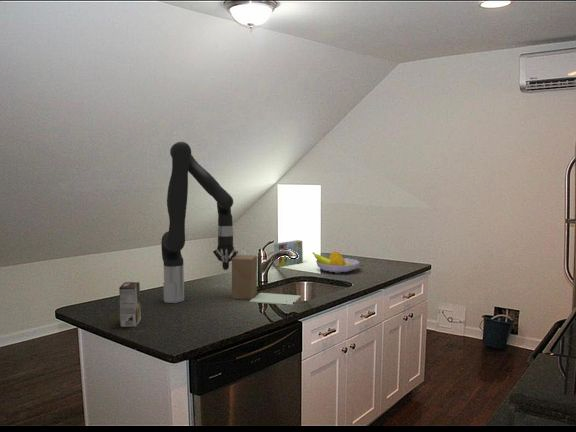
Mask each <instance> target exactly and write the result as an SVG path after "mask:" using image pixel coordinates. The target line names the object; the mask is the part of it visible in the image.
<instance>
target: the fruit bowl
mask: <svg viewBox="0 0 576 432" xmlns="http://www.w3.org/2000/svg"><path fill="white" fill-rule="evenodd" d="M312 255H313V256H314V257H315V259H316V260H315V262H316V265H317V267H318V268H319V269H321V270H323V271H325V272H327V271H329V273H332V272H335V273H334V274H342V273H341V272H345V273H349V271H350V272H351V271H354V270H356V268H357V267H358V266H359V264H360V261H359V260H357V259H352V258H347V257H346V258H344V257H343V255H342V254H341V253H340V252H339V251H333V252H331V254H330V255H329V256H328V257H325V256H322V255H321V254H316V253H315V252H314V251H313V252H312Z"/></svg>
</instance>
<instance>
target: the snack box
mask: <svg viewBox="0 0 576 432" xmlns="http://www.w3.org/2000/svg"><path fill="white" fill-rule="evenodd" d="M283 249H291V250H293V251H295V252H297V253H298V255H299V258H298V259H289V258H288V257H286V256H284V257H280V258H279V259H277V260H276V261H275V263H273V266H274V267H277V268H282V267H288V266H292V265H298V264H303V261H304V259H303V258H304V257H303V255H304V254H303V240H297V239H296V240H289V241H282V242H276V243H273V254H274V253H275V252H277V251H280V250H283Z"/></svg>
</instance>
